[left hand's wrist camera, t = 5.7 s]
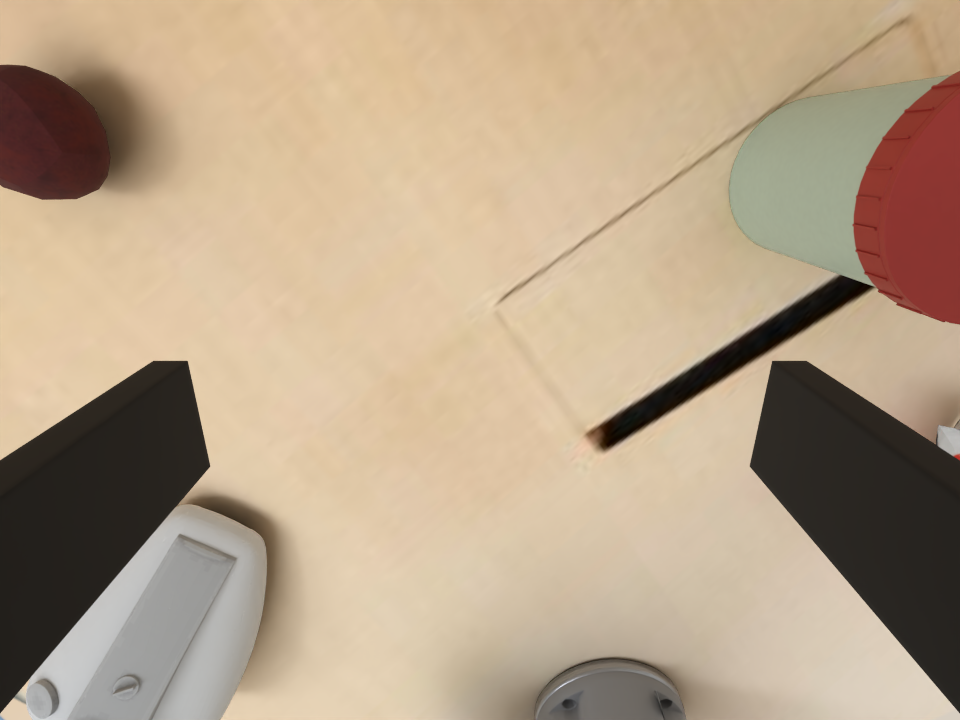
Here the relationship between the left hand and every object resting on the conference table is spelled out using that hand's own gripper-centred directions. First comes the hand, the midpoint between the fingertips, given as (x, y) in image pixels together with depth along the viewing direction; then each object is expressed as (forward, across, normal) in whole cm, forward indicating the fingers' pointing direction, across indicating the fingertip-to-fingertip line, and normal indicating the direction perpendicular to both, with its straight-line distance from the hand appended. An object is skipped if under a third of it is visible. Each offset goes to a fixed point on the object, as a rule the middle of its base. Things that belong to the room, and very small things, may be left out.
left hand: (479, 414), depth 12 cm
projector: (+28, +28, +33) cm, 52 cm away
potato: (+28, +27, -6) cm, 39 cm away
